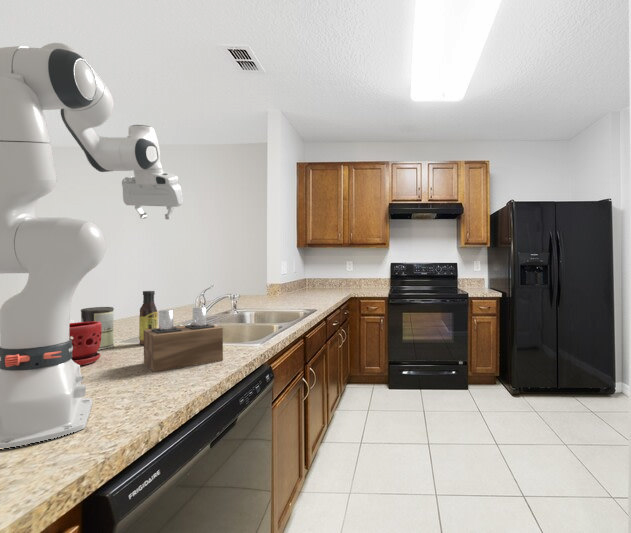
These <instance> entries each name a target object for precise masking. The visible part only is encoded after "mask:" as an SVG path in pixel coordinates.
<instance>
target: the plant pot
mask: <svg viewBox="0 0 631 533" xmlns="http://www.w3.org/2000/svg"><path fill="white" fill-rule="evenodd" d="M101 335H102V326H101V322H94V321H92V322H81V321H79V322H71V323H69V339H71V340H72V345H73V350H72V358H71V359H72V360H73V361H74V362H75V363H77V364H78V365H80V366H85V365H89V364H93V363H95V362H96V361H98V360H99V359H100V357H101V354H102V353H101V352H98V351H99V350H98V349H99V346H100V343H101Z"/></svg>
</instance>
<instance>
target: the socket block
mask: <svg viewBox="0 0 631 533" xmlns="http://www.w3.org/2000/svg"><path fill="white" fill-rule="evenodd" d="M223 330H224V328H223V327H222V326H219V325H215V324H211V323H208V322H206V326H205V327H196V328H194V327H193V324H188V325H177V326H174V330H169V331H159V327H157V329H148V330H144V345H143V363H145V364H146V366H147V368H149V369H150V368H151V369H152V370H153V371H154V372H153V371H152V370H151V369H150V370H151V371H152V372H153V373H156V371H158V372H163V371H168V370H174V369H175V370H176V369H180V368H186V366H187V367H191V366H192V367H193V366H197V365H198V366H199V365H204V363H205V364H209V363H210V362H211V363H216V362H215V361H217V362H222V361H221V360H223V361H224V346H223V345H224V344H223V343H224V342H223V341H224V338H223V336H224V334H223V332H224V331H223ZM145 364H144V365H145Z"/></svg>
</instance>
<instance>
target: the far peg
mask: <svg viewBox="0 0 631 533" xmlns="http://www.w3.org/2000/svg"><path fill="white" fill-rule="evenodd" d="M206 323H207V307H205V306H197V307H196V306H195V307H192V325H193V327H194V328H196V327H205V326H206Z"/></svg>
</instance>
